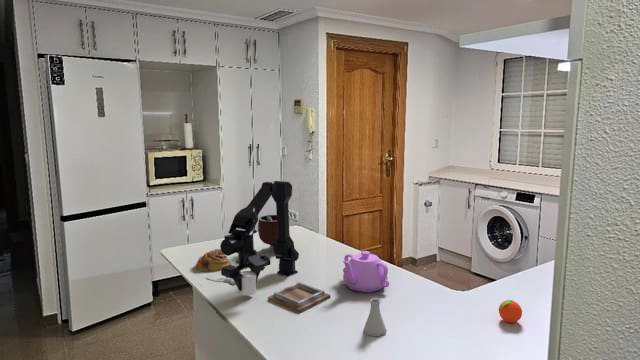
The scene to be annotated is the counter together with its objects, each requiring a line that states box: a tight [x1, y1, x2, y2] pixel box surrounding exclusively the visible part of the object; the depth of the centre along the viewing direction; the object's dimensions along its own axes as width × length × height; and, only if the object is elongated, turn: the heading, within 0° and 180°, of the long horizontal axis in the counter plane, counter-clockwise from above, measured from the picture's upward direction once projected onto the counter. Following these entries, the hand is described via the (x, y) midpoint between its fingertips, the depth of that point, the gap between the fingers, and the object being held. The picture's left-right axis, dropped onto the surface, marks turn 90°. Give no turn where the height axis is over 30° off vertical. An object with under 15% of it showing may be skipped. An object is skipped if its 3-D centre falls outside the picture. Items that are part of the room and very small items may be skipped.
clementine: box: [498, 299, 523, 324], centre depth 138 cm, size 8×7×7 cm
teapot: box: [342, 250, 390, 293], centre depth 166 cm, size 22×22×14 cm
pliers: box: [206, 276, 236, 286], centre depth 177 cm, size 10×2×15 cm
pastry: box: [195, 248, 231, 272], centre depth 191 cm, size 13×15×8 cm
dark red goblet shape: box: [257, 214, 278, 257], centre depth 208 cm, size 16×14×20 cm
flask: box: [363, 298, 387, 337], centre depth 133 cm, size 7×7×10 cm
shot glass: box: [239, 270, 257, 296], centre depth 159 cm, size 7×7×7 cm
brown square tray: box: [267, 281, 331, 314], centre depth 157 cm, size 16×16×3 cm
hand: (247, 288), depth 159 cm, fingers closed on shot glass, 6 cm apart
